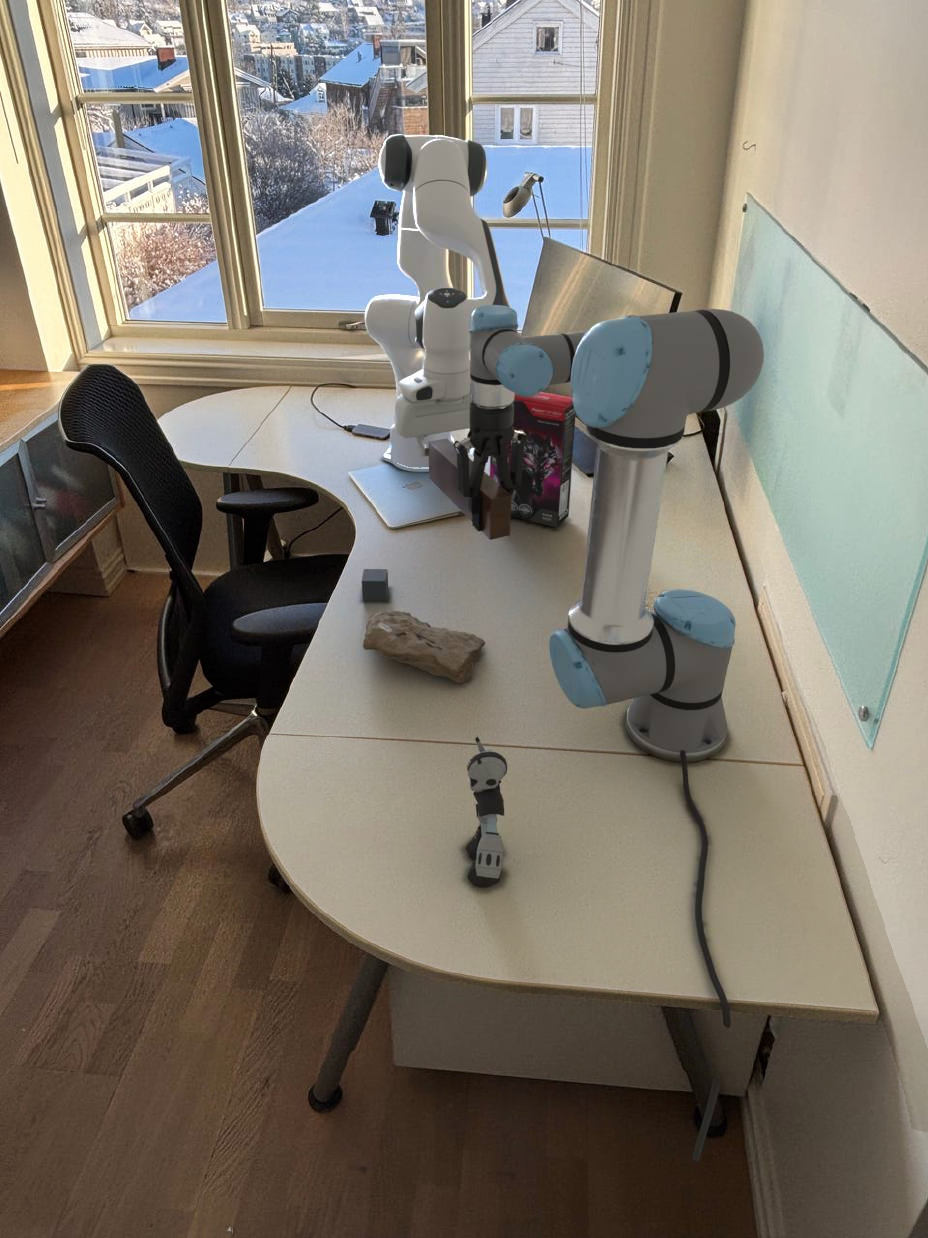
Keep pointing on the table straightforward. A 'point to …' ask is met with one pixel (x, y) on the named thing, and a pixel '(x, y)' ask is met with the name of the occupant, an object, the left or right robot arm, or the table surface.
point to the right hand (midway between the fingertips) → (488, 525)
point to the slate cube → (375, 585)
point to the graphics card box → (543, 458)
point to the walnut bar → (492, 493)
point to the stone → (423, 644)
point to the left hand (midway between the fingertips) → (446, 451)
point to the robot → (486, 816)
